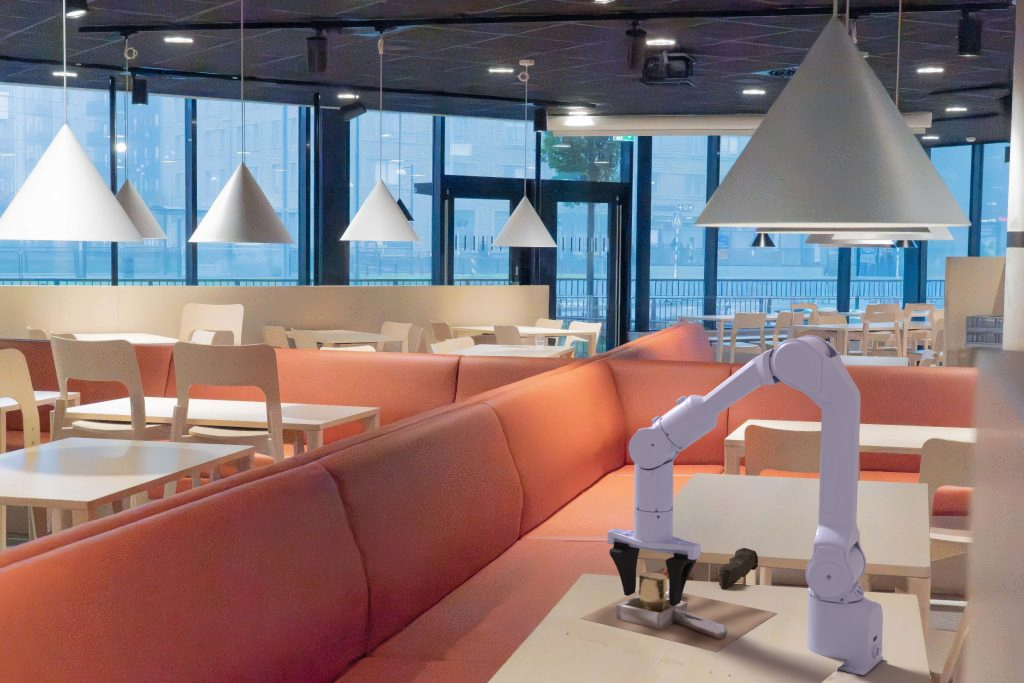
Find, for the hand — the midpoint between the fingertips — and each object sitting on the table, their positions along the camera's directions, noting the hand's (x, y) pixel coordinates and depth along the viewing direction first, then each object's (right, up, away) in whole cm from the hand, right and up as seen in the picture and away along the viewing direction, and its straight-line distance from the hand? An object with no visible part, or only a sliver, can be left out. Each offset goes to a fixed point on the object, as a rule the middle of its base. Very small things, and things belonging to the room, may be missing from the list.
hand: (652, 598), depth 158 cm
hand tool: (+17, -3, +22) cm, 29 cm away
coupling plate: (+4, -4, +1) cm, 6 cm away
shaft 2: (+6, -3, -6) cm, 9 cm away
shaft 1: (+4, -2, +7) cm, 8 cm away
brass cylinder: (0, -3, 0) cm, 3 cm away
